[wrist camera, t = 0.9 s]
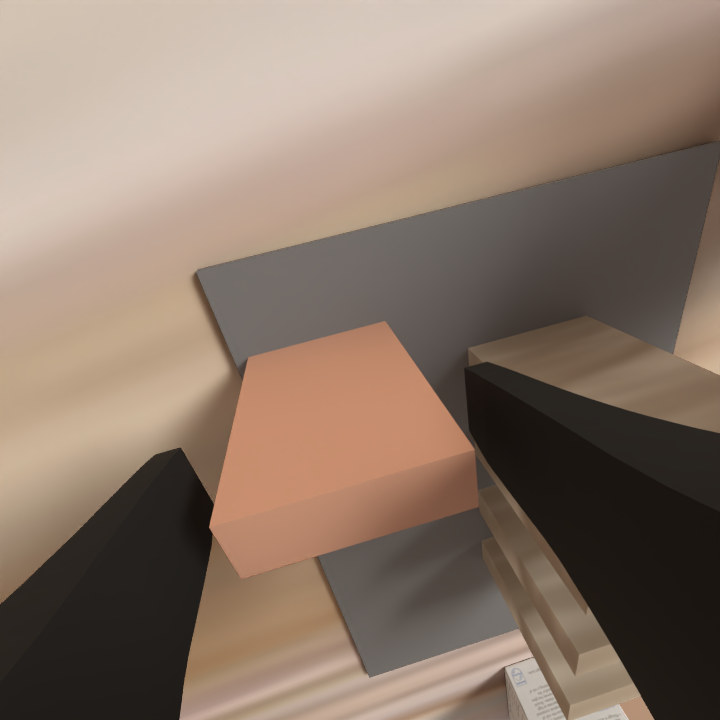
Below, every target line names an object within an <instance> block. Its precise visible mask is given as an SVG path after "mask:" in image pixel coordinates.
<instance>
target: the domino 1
mask: <svg viewBox="0 0 720 720" xmlns="http://www.w3.org/2000/svg"><path fill="white" fill-rule="evenodd" d="M477 507H479V501H478V487H477V473H476V459H475V449H474V448H473V446H472V445H471V443H470V442H469V440H468V439H467V438H466V436H465V435H464V433H463V432H462V430H461V429H460V427H459V426H458V425H457V423H456V422H455V420H454V419H453V417H452V416H451V415H450V413H449V412H448V410H447V409H446V407H445V406H444V404H443V403H442V402H441V400H440V399H439V397H438V396H437V394H436V393H435V392H434V390H433V389H432V387H431V386H430V384H429V383H428V381H427V380H426V379H425V377H424V376H423V374H422V373H421V371H420V370H419V369H418V367H417V366H416V364H415V363H414V361H413V360H412V359H411V357H410V356H409V354H408V353H407V351H406V350H405V348H404V347H403V346H402V344H401V343H400V341H399V340H398V338H397V337H396V336H395V334H394V333H393V331H392V330H391V328H390V327H389V325H388V324H387V323H386V321H383V322H379V323H376V324H372V325H368V326H364V327H361V328H357V329H353V330H349V331H345V332H342V333H338V334H334V335H330V336H327V337H323V338H319V339H315V340H312V341H308V342H304V343H300V344H296V345H293V346H289V347H285V348H281V349H278V350H274V351H270V352H266V353H263V354H259V355H255V356H251V357H248V361H247V365H246V369H245V374H244V378H243V382H242V387H241V391H240V395H239V400H238V404H237V408H236V413H235V417H234V421H233V426H232V430H231V434H230V439H229V443H228V447H227V452H226V456H225V460H224V465H223V469H222V473H221V478H220V482H219V486H218V491H217V495H216V499H215V504H214V508H213V513H212V517H211V521H210V526H209V528H210V530H211V531H212V533H213V534H214V536H215V538H216V539H217V541H218V543H219V544H220V546H221V547H222V549H223V551H224V552H225V554H226V555H227V557H228V559H229V560H230V562H231V563H232V565H233V567H234V568H235V570H236V571H237V573H238V575H239V576H240V578H241V579H243V578H247V577H250V576H253V575H257V574H260V573H263V572H266V571H270V570H273V569H276V568H280V567H283V566H286V565H289V564H293V563H296V562H299V561H303V560H306V559H309V558H313V557H316V556H319V555H322V554H326V553H329V552H332V551H336V550H339V549H342V548H345V547H349V546H352V545H355V544H359V543H362V542H365V541H368V540H372V539H375V538H378V537H382V536H385V535H388V534H391V533H395V532H398V531H401V530H405V529H408V528H411V527H415V526H418V525H421V524H424V523H428V522H431V521H434V520H438V519H441V518H444V517H447V516H451V515H454V514H457V513H461V512H464V511H467V510H470V509H474V508H477Z"/></svg>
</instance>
